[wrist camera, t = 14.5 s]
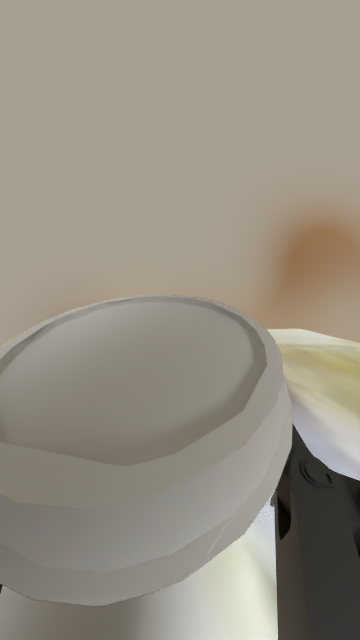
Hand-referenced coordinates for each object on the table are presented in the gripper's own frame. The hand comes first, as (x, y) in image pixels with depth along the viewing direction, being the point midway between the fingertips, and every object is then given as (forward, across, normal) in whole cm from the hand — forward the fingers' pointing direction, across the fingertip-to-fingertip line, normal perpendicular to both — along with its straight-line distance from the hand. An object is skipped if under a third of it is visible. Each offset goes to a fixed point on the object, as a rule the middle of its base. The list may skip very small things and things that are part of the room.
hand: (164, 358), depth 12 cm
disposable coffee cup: (-5, 0, -7) cm, 9 cm away
